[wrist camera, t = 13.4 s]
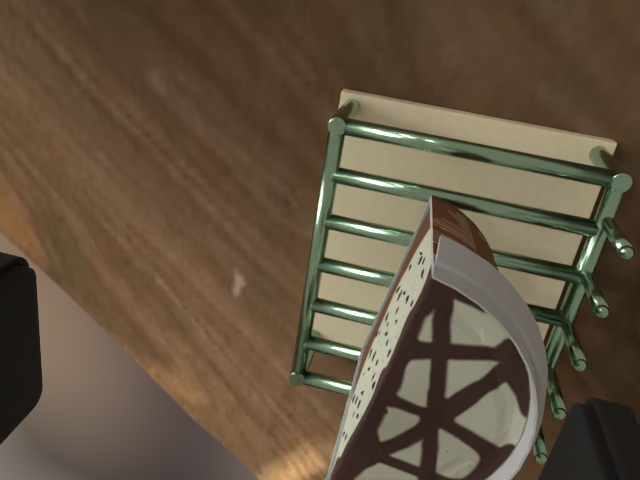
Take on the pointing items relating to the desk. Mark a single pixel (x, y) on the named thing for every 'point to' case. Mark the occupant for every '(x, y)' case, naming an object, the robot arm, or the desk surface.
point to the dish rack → (469, 197)
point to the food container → (445, 367)
